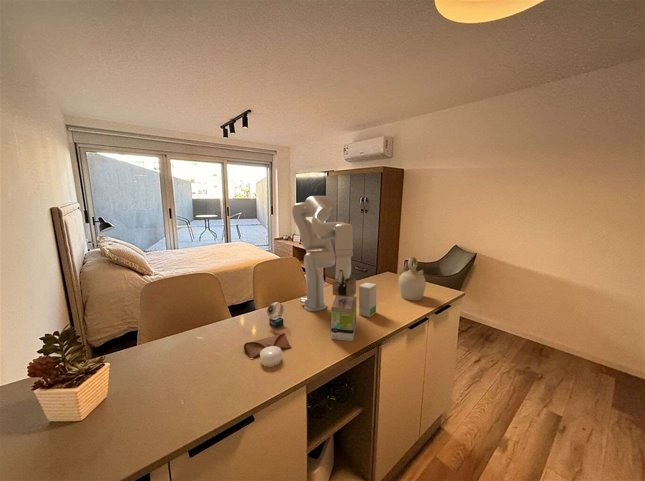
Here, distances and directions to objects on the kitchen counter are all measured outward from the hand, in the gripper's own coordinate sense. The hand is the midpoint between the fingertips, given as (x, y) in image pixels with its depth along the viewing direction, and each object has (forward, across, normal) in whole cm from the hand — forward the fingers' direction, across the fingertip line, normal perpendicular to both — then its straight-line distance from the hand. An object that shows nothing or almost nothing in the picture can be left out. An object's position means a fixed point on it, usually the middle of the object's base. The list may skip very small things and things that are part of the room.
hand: (344, 291), depth 115 cm
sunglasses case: (+20, +22, -26) cm, 40 cm away
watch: (+19, +3, -33) cm, 38 cm away
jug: (+19, -52, +29) cm, 63 cm away
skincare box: (+19, -22, +7) cm, 30 cm away
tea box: (+19, 0, 0) cm, 19 cm away
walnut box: (+1, 0, 0) cm, 1 cm away
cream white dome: (+19, +28, -22) cm, 41 cm away
